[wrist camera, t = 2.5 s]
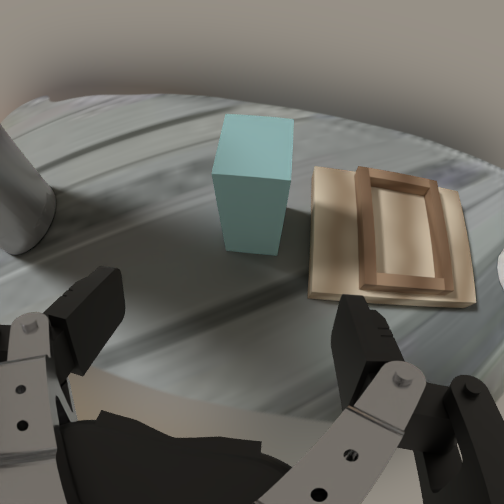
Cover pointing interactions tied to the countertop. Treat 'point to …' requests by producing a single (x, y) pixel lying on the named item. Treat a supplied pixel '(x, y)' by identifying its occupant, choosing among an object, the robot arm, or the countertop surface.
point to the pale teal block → (253, 181)
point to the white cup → (501, 268)
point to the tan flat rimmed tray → (388, 240)
